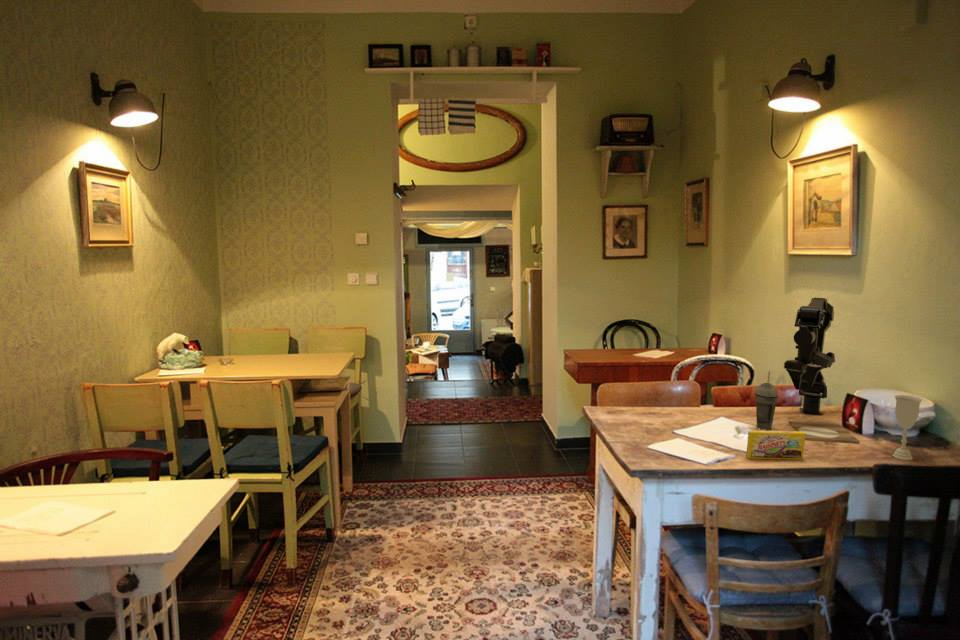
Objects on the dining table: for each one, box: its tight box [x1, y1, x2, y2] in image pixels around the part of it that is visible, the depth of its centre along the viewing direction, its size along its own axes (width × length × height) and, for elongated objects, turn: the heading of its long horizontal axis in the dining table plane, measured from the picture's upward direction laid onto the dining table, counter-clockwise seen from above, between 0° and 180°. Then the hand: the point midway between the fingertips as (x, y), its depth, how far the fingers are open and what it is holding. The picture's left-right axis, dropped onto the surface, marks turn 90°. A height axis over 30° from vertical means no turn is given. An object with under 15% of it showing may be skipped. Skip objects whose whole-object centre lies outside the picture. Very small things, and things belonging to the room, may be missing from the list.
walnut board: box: [788, 420, 860, 444], centre depth 218 cm, size 20×16×1 cm
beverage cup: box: [754, 370, 779, 431], centre depth 221 cm, size 7×7×20 cm
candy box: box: [745, 430, 806, 460], centre depth 191 cm, size 16×2×8 cm, turn 90°
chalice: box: [892, 394, 923, 461], centre depth 193 cm, size 7×7×18 cm
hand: (804, 387), depth 225 cm, fingers open, 9 cm apart
